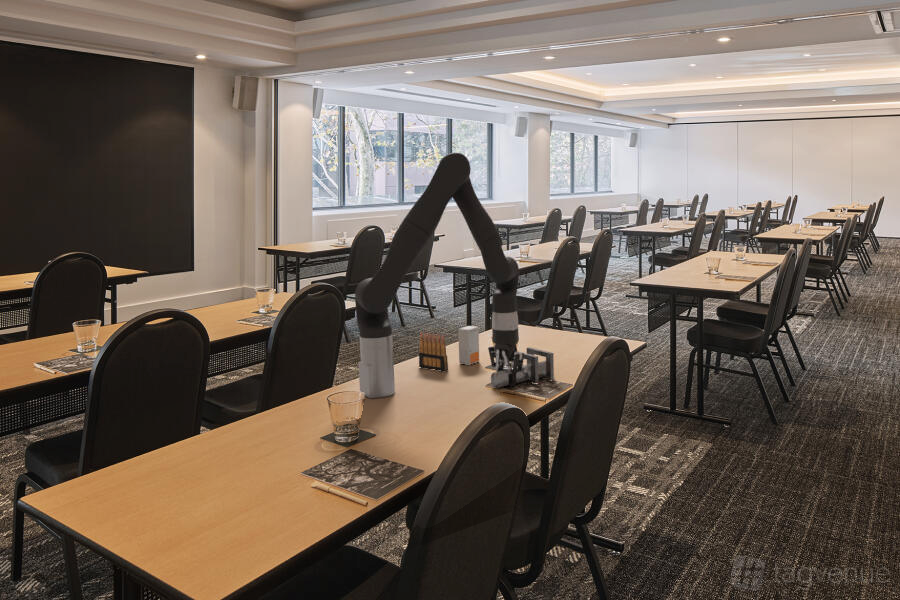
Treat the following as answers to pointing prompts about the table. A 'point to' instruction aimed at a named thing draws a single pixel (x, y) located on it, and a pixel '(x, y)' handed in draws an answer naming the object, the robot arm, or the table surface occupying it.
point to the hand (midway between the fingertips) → (506, 383)
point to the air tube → (517, 375)
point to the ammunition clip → (433, 352)
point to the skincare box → (468, 345)
